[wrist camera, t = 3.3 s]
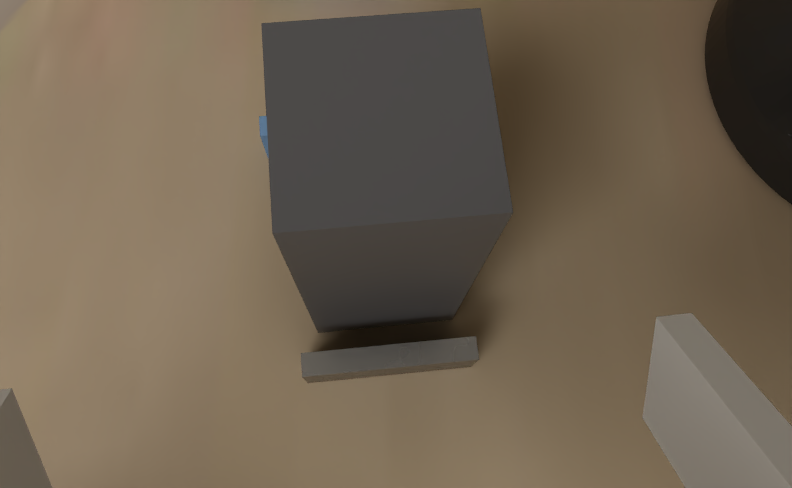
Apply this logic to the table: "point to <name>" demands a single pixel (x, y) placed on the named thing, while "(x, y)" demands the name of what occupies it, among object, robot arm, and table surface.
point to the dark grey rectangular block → (383, 163)
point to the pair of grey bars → (389, 359)
